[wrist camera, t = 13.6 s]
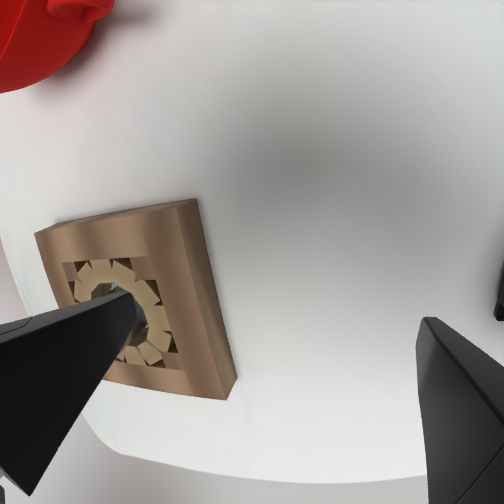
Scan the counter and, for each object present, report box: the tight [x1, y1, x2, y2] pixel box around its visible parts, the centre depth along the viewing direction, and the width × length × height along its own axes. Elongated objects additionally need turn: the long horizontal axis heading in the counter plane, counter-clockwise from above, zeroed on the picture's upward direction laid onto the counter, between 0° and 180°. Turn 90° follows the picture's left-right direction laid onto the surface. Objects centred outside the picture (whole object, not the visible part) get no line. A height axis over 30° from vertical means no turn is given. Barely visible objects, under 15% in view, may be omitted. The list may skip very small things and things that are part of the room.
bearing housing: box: [34, 198, 237, 400], centre depth 26 cm, size 16×16×3 cm
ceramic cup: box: [0, 0, 115, 93], centre depth 15 cm, size 13×17×10 cm
